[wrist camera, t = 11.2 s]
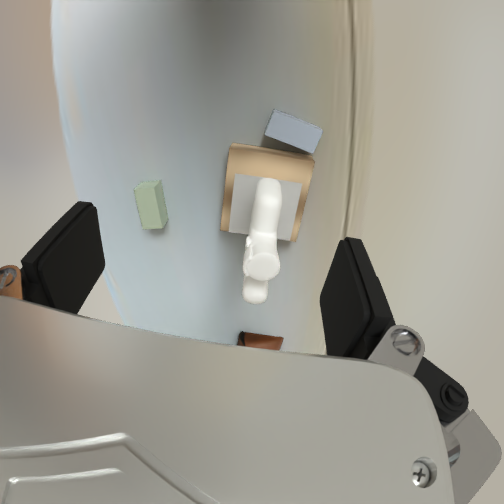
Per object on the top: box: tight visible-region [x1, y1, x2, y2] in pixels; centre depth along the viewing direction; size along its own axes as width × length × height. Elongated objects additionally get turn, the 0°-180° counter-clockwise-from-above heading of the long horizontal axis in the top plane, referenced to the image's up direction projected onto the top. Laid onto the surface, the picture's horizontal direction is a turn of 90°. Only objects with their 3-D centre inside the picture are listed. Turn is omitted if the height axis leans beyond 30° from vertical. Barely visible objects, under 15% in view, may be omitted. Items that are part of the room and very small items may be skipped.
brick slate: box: [265, 109, 323, 154], centre depth 34 cm, size 6×3×3 cm, turn 70°
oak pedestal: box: [220, 143, 315, 242], centre depth 38 cm, size 11×10×3 cm
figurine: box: [229, 173, 302, 304], centre depth 31 cm, size 7×9×15 cm
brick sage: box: [134, 180, 168, 229], centre depth 40 cm, size 6×3×3 cm, turn 4°
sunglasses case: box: [237, 331, 283, 351], centre depth 58 cm, size 18×7×7 cm, turn 174°
